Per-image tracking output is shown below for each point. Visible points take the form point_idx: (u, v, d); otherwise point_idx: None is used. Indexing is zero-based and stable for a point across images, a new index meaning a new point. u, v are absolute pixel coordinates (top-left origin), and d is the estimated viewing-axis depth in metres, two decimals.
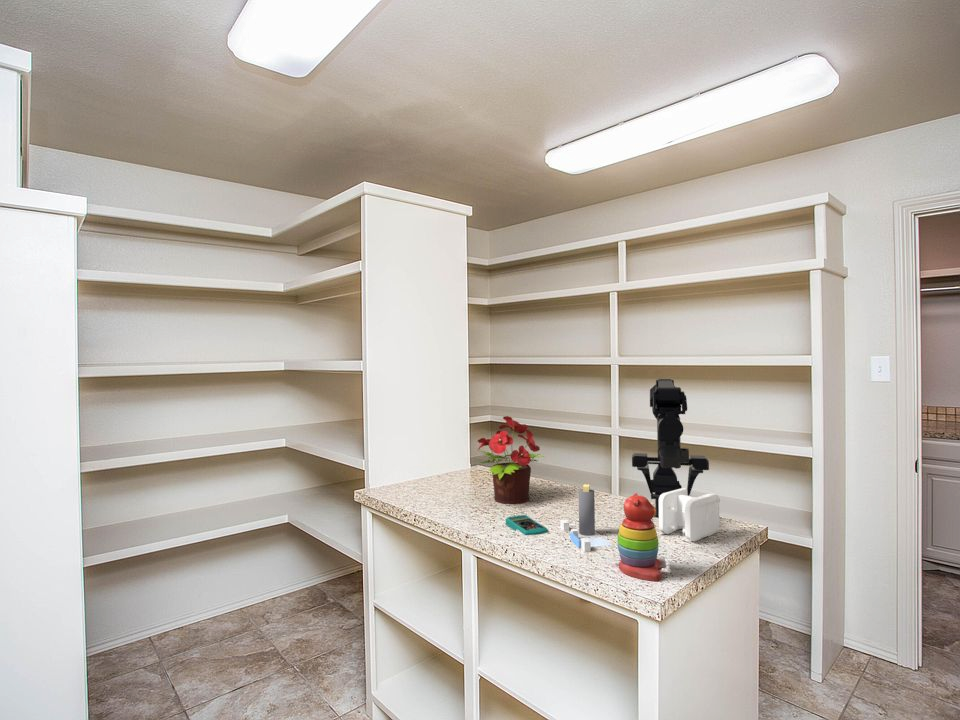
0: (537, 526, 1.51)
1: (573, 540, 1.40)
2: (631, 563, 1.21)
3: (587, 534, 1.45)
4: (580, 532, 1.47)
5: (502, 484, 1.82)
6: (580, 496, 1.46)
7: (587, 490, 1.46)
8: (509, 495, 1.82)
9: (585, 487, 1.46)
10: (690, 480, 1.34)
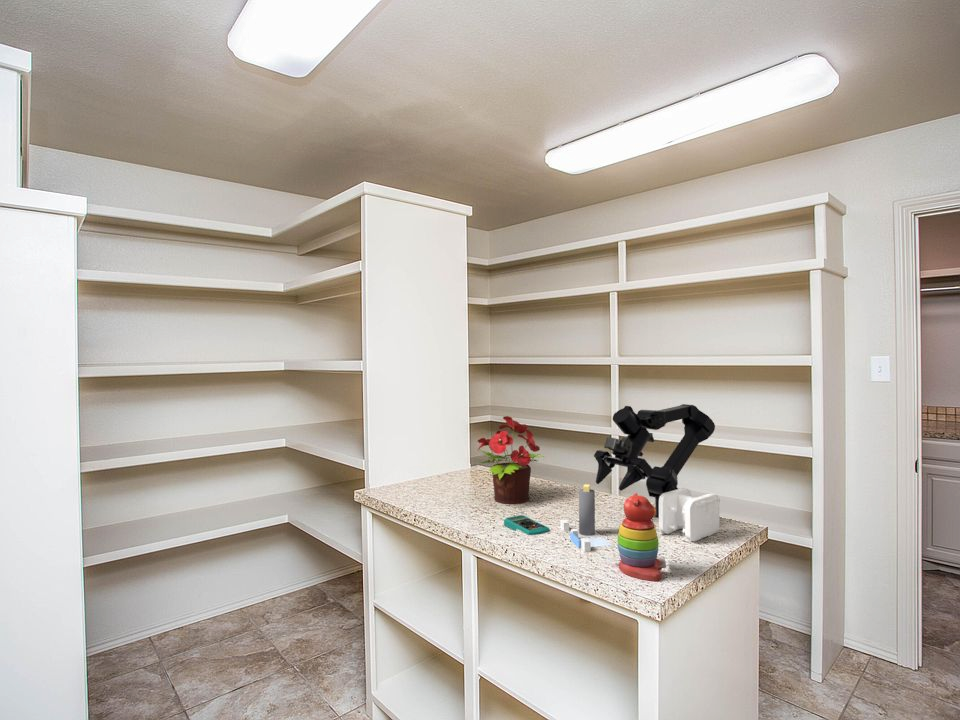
0: (538, 526, 1.51)
1: (573, 540, 1.40)
2: (631, 563, 1.21)
3: (587, 534, 1.45)
4: (580, 532, 1.47)
5: (502, 484, 1.82)
6: (580, 496, 1.46)
7: (587, 490, 1.46)
8: (509, 495, 1.82)
9: (585, 487, 1.46)
10: (625, 475, 1.48)
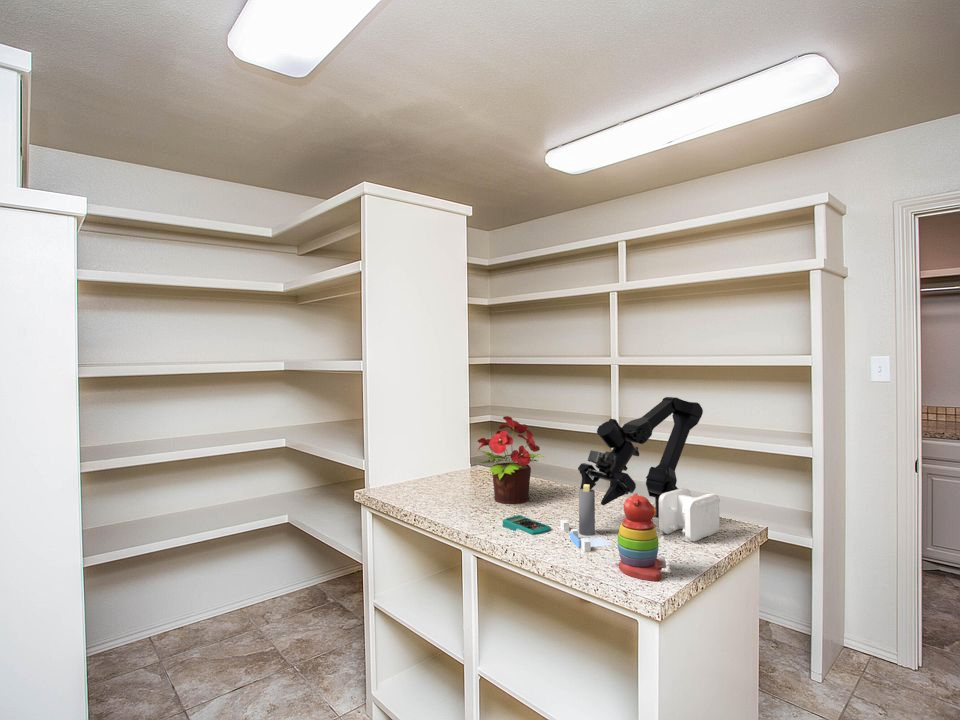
0: (539, 525, 1.52)
1: (573, 540, 1.40)
2: (631, 563, 1.21)
3: (587, 534, 1.45)
4: (580, 532, 1.47)
5: (502, 484, 1.82)
6: (580, 496, 1.46)
7: (587, 490, 1.46)
8: (509, 495, 1.82)
9: (585, 487, 1.46)
10: (608, 489, 1.45)
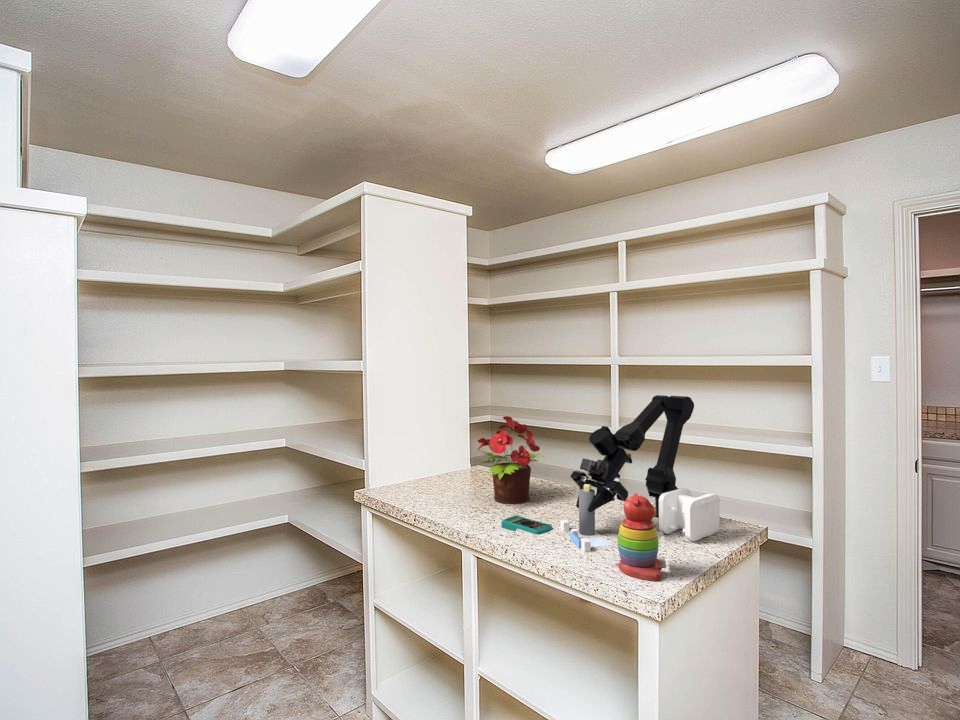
0: (540, 524, 1.53)
1: (573, 540, 1.40)
2: (631, 563, 1.21)
3: (587, 534, 1.45)
4: (580, 532, 1.47)
5: (502, 484, 1.82)
6: (580, 496, 1.46)
7: (587, 490, 1.46)
8: (509, 495, 1.82)
9: (585, 487, 1.46)
10: (595, 496, 1.45)
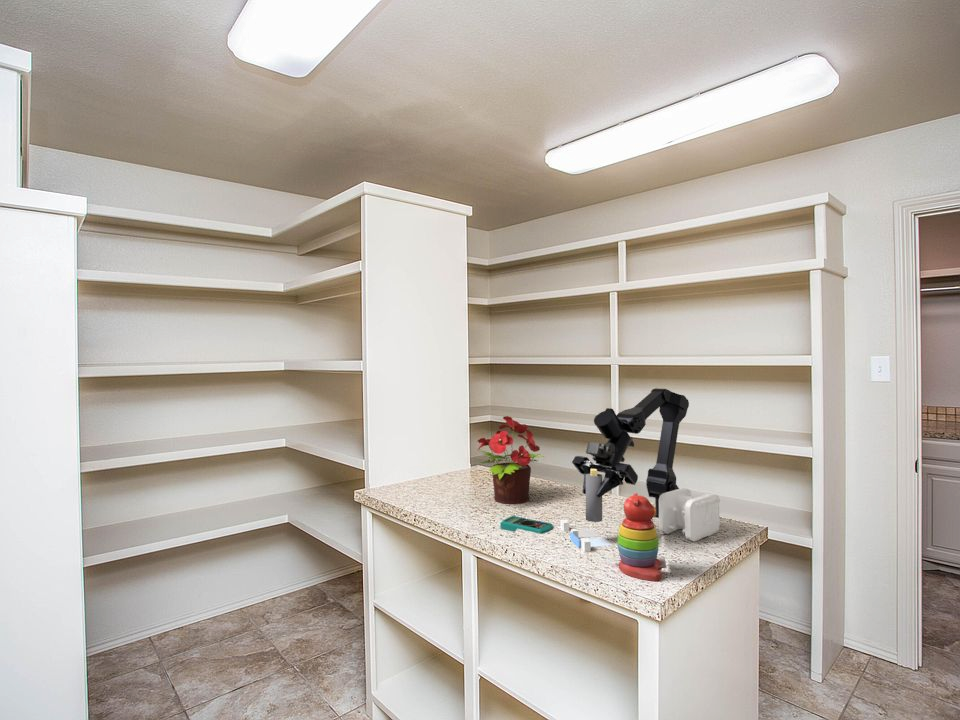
0: (541, 523, 1.53)
1: (573, 540, 1.40)
2: (631, 563, 1.21)
3: (595, 520, 1.39)
4: (588, 518, 1.40)
5: (502, 484, 1.82)
6: (588, 481, 1.40)
7: (595, 474, 1.40)
8: (509, 495, 1.82)
9: (593, 471, 1.40)
10: (603, 481, 1.40)
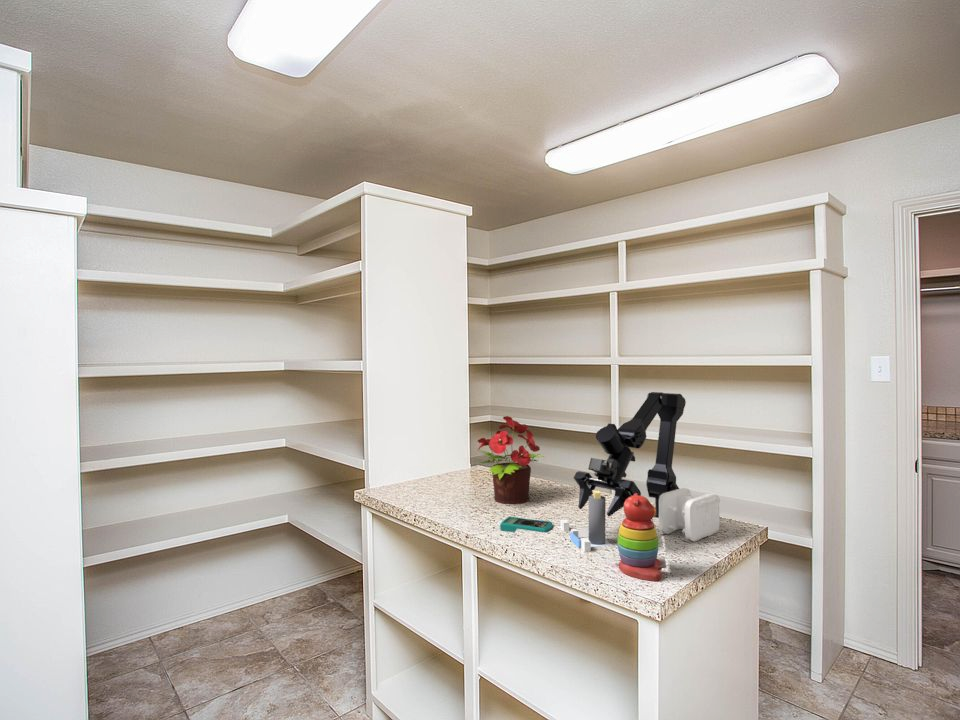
0: (541, 522, 1.54)
1: (573, 540, 1.40)
2: (631, 563, 1.21)
3: (599, 543, 1.38)
4: (591, 541, 1.39)
5: (502, 484, 1.82)
6: (591, 503, 1.39)
7: (599, 497, 1.39)
8: (509, 495, 1.82)
9: (597, 494, 1.39)
10: (613, 499, 1.37)
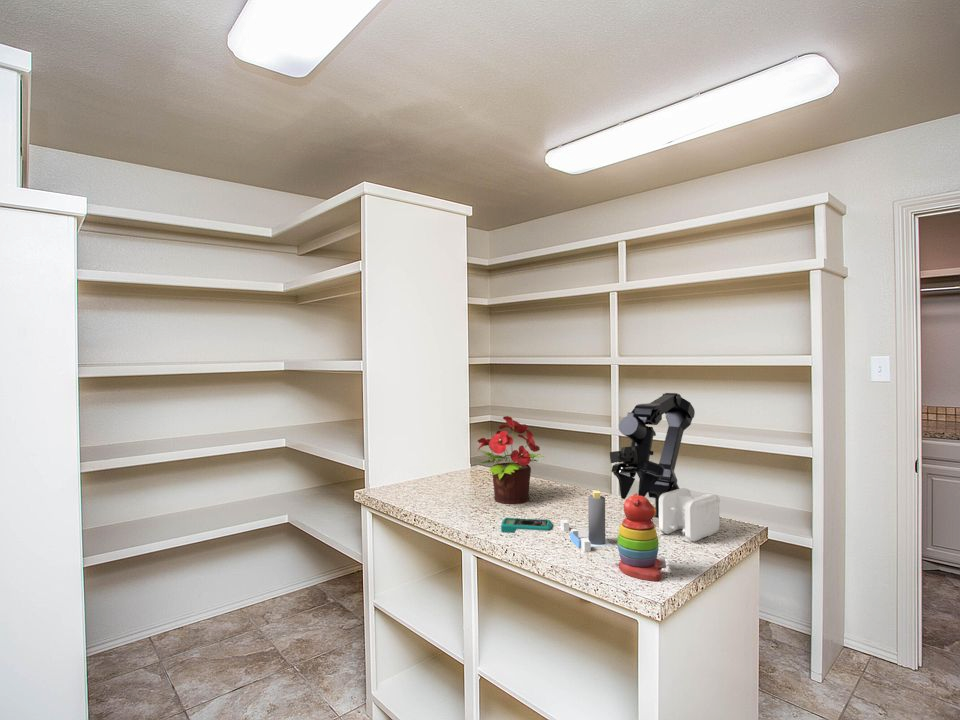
0: (540, 521, 1.56)
1: (573, 540, 1.40)
2: (631, 563, 1.21)
3: (599, 543, 1.38)
4: (591, 541, 1.39)
5: (502, 484, 1.82)
6: (591, 503, 1.39)
7: (598, 497, 1.39)
8: (509, 495, 1.82)
9: (596, 494, 1.39)
10: (639, 483, 1.43)
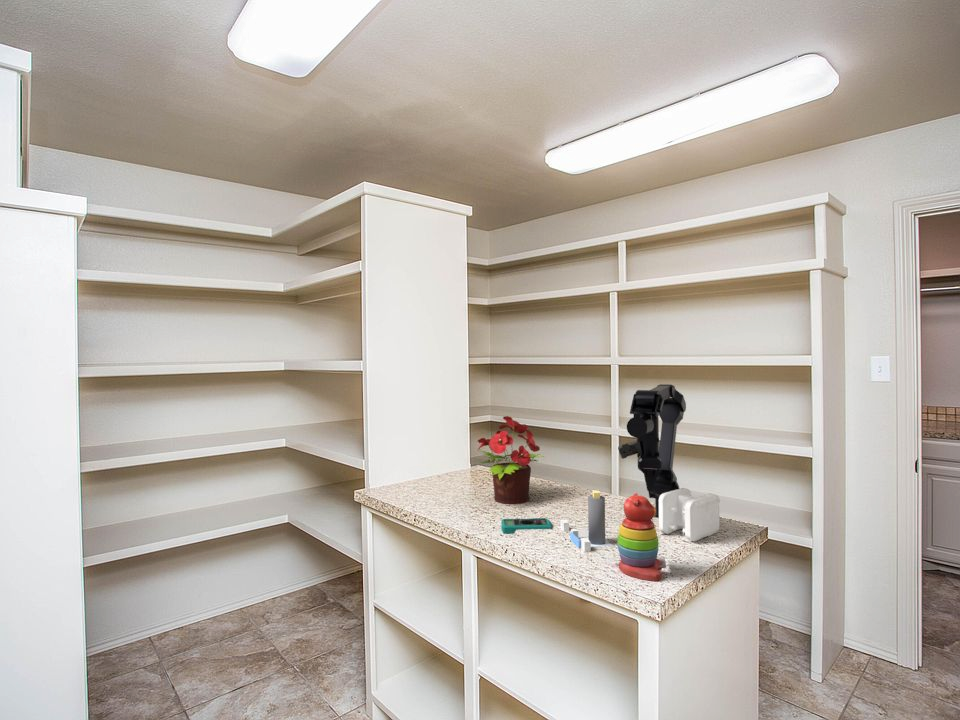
0: (538, 520, 1.57)
1: (573, 540, 1.40)
2: (631, 563, 1.21)
3: (599, 543, 1.38)
4: (591, 541, 1.39)
5: (502, 484, 1.82)
6: (591, 503, 1.39)
7: (598, 497, 1.39)
8: (509, 495, 1.82)
9: (596, 493, 1.39)
10: (644, 476, 1.46)
